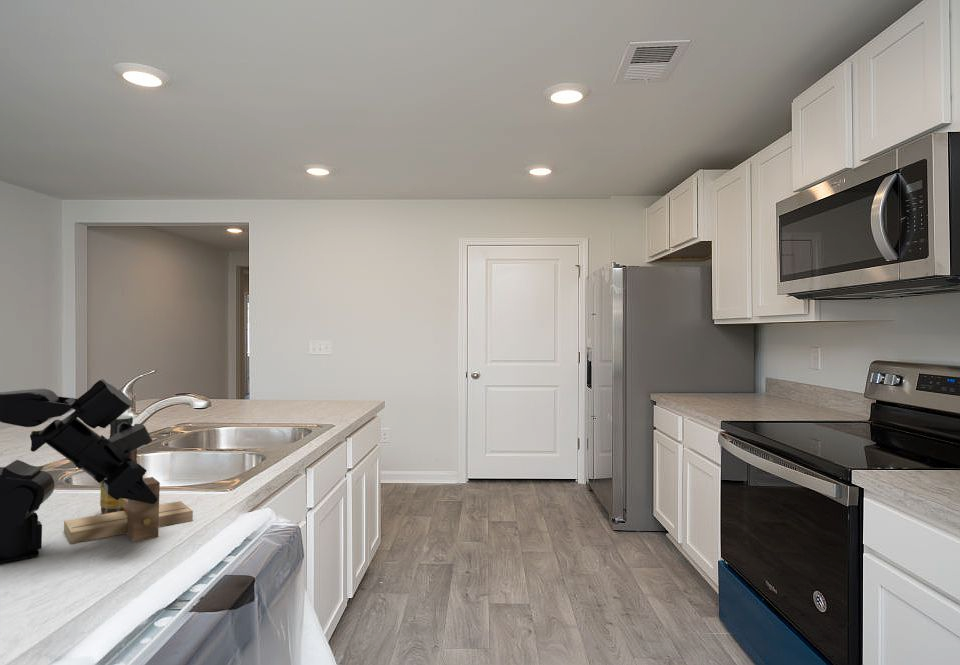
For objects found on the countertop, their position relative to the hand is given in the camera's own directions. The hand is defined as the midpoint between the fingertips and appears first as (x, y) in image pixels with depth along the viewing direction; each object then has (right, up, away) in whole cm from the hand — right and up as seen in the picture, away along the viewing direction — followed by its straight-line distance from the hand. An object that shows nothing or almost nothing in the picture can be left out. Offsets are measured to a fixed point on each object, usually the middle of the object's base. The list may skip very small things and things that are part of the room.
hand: (152, 498), depth 106 cm
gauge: (-4, -6, +2) cm, 8 cm away
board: (-6, -6, +4) cm, 10 cm away
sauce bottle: (-13, -6, +12) cm, 19 cm away
